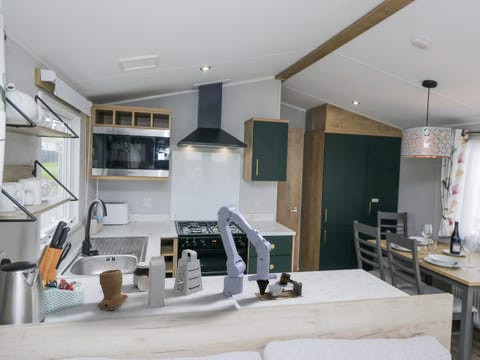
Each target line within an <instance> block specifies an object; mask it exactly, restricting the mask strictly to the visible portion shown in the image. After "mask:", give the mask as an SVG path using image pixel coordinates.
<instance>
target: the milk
mask: <svg viewBox="0 0 480 360" xmlns="http://www.w3.org/2000/svg"><path fill="white" fill-rule="evenodd" d="M148 262H149V289H148V290H147V291H148V293H147V296H148V297H147V304H148V305H149V307H150V308H151V309H154V308H160V307H161V308H162V307H165V299H166V298H165V297H166V296H165V295H166V260H165V256H164V255H156V256H155V255H154V256H150V261H148Z"/></svg>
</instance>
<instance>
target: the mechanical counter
mask: <svg viewBox="0 0 480 360" xmlns="http://www.w3.org/2000/svg"><path fill="white" fill-rule="evenodd" d="M291 276H292V275H291V274H290V273H286V272H284V271H282V273H281V274H280V277H279V282H278V285H284V286H285V285H286V286H288V284H292V285H293V281H294V280H293V279H291ZM299 283H300V284H301V285H302V286H303V283H302V282H301V281H300V282H299Z"/></svg>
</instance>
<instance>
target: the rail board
mask: <svg viewBox="0 0 480 360" xmlns="http://www.w3.org/2000/svg"><path fill="white" fill-rule="evenodd" d="M302 291H303V284H302V285H301V284H300V282H298V281H297V280H293V284H292V289H285V290H284V291H282V296H276V297H272V296H271V295H270V294H268V291H265V293H264V295H260V292H254V295H255V296H256V297H257V298H258V299H259V300H260V301H261V302H267V301H277V300H286V299H287V300H288V299H298V298H304V295H303V294H302Z"/></svg>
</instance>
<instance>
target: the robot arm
mask: <svg viewBox="0 0 480 360" xmlns="http://www.w3.org/2000/svg"><path fill="white" fill-rule="evenodd" d="M216 215H217V228H218V232H219V235H220V237H221V240H222V244H223V248H224V250H225V254H226V257H227V261H226V264H225V265H226V273H227V275H226V276H224V277H223V289H222V292H223V293H224V294H225V296H226V297H227V298H231V297H233V294H234V295H239V294H242V293H243V292H244V272H245V271H246V269H247V268H246V263H245V262H244V260H243V258H242V257H241V256H240V255H239V253H238V250H237V248H236V244H235V241H234V237H233V234H232V230H231V229H230V224H231V222H236V223H237V224H238V225H239V227H240V228H241V229H242V230H243V231H244V232H245V233H246V238H247V239H248V240H249V242H250V243H251V244H252V245H253V246H254V247H255V252H256V253H257V259H256V260H257V262H256V263H257V264H256V274H253V275H248V276H247V281H248V282H254V281H255V282H256V284H257V287H258V290H259V293H260V295H264V293H265V292H266V290H267V287H269V285H270V280H273V279H274V280H277V279H278V274H276V273H270V252H271V250H272V244H271V243H270V241H269V240H266V238H264V237H263V236H262V235H261V233H260V231H259V230H257V229H256V228H252V226H251V224H249V222H248V221H247V220H246V219H245V217H244V215H242V213H241V211H240V210H239V208H238V207H237V206H235V205H234V204H230V205H227V206H221V207H220V208H219V209H218V211H217V213H216Z"/></svg>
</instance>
